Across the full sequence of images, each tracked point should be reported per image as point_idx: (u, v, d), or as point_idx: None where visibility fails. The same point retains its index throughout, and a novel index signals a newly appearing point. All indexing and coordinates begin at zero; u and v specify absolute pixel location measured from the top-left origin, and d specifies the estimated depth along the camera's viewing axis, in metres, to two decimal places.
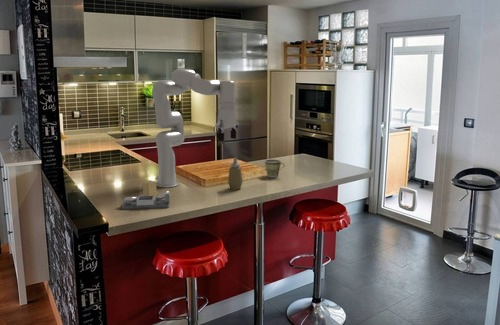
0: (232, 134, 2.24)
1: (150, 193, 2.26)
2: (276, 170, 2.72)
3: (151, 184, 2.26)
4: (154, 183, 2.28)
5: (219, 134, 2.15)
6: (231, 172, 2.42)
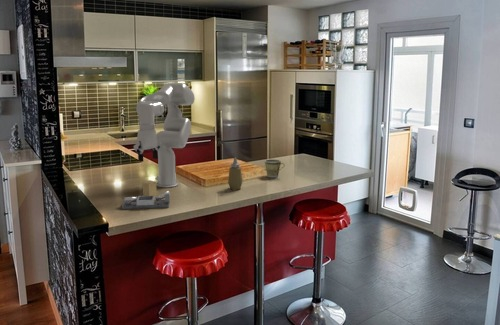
0: (154, 154, 2.29)
1: (150, 193, 2.26)
2: (276, 170, 2.72)
3: (151, 184, 2.26)
4: (154, 183, 2.28)
5: (138, 155, 2.20)
6: (231, 173, 2.42)
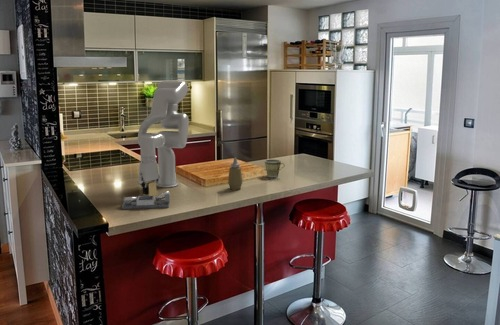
0: None
1: (150, 193, 2.26)
2: (276, 170, 2.72)
3: (151, 184, 2.26)
4: (154, 183, 2.28)
5: (143, 188, 2.26)
6: (231, 173, 2.42)
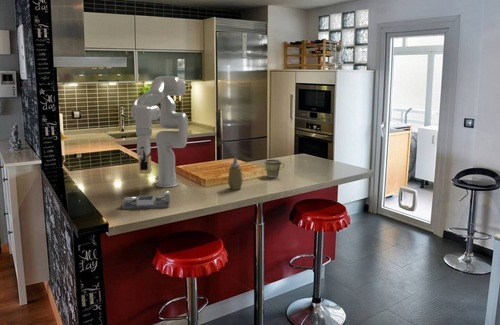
0: None
1: (149, 167, 2.11)
2: (276, 170, 2.72)
3: (149, 158, 2.12)
4: (150, 157, 2.14)
5: (142, 163, 2.09)
6: (231, 172, 2.42)
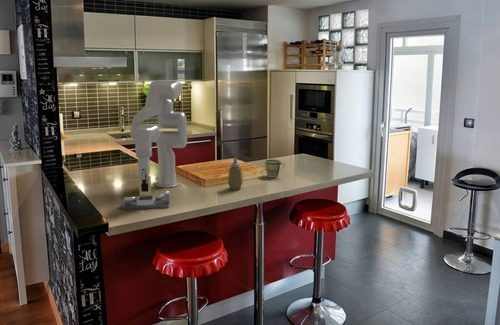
0: None
1: (150, 189, 2.11)
2: (276, 170, 2.72)
3: (150, 179, 2.11)
4: (150, 178, 2.13)
5: (143, 185, 2.08)
6: (231, 173, 2.42)
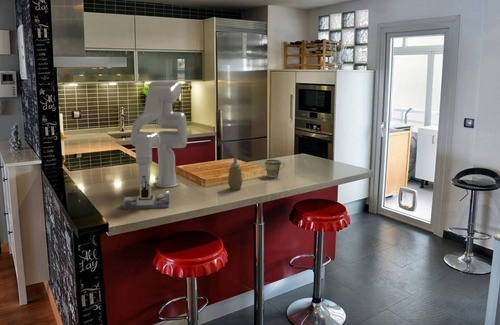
0: None
1: (150, 198, 2.12)
2: (276, 170, 2.72)
3: (150, 189, 2.12)
4: (150, 187, 2.14)
5: (143, 191, 2.07)
6: (231, 172, 2.42)
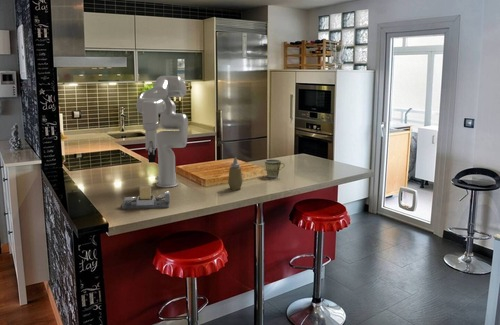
0: None
1: (150, 198, 2.12)
2: (276, 170, 2.72)
3: (150, 189, 2.12)
4: (150, 187, 2.14)
5: (150, 156, 2.11)
6: (231, 172, 2.42)
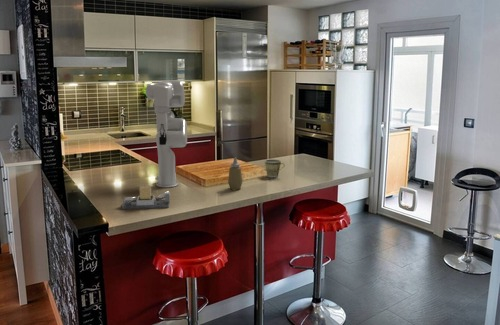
0: None
1: (150, 198, 2.12)
2: (276, 170, 2.72)
3: (150, 189, 2.12)
4: (150, 187, 2.14)
5: (161, 138, 2.19)
6: (231, 172, 2.42)
